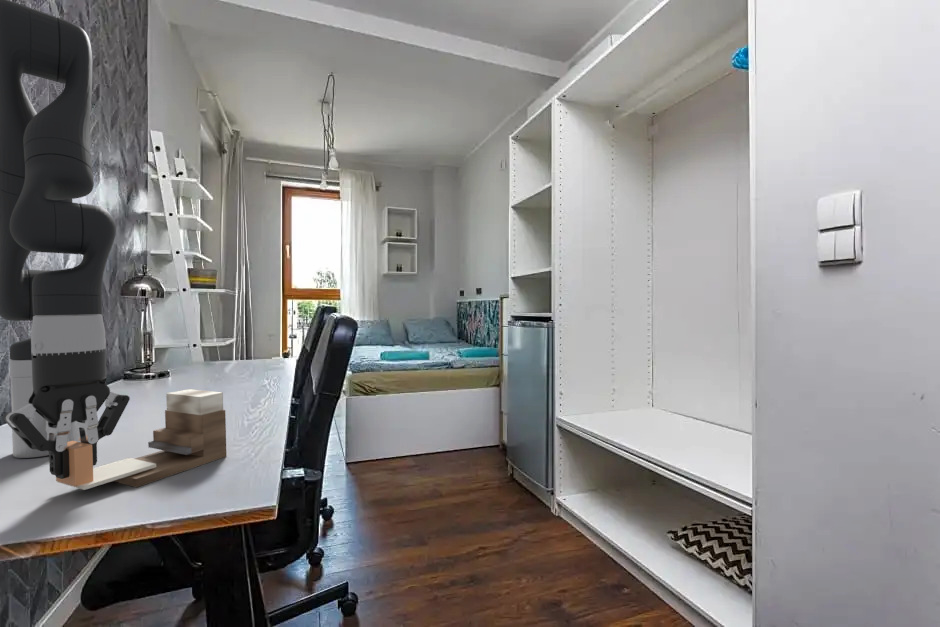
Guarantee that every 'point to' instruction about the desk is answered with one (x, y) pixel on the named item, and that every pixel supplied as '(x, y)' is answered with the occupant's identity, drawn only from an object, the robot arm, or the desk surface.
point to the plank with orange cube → (97, 468)
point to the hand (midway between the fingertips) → (74, 473)
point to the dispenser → (185, 436)
